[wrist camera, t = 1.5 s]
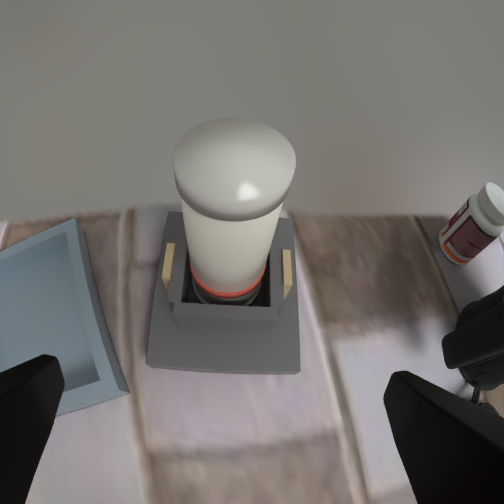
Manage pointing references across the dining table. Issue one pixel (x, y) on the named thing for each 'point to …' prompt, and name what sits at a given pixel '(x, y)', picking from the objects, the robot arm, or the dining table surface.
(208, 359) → the fuse holder
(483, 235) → the pill bottle
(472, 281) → the dining table surface
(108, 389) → the tray
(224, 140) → the cylinder
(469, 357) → the milk frother
